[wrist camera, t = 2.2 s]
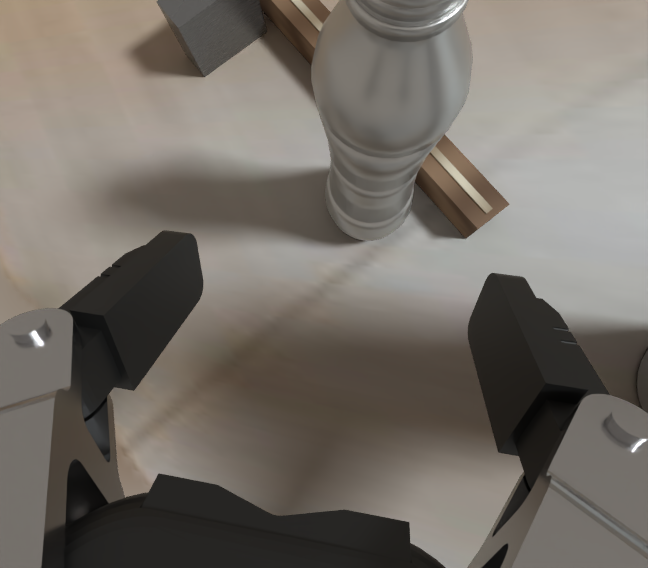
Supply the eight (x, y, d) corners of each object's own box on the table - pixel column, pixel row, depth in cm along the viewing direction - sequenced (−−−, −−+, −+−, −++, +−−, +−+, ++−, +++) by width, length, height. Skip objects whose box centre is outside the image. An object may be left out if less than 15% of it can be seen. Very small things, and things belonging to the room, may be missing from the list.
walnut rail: (494, 215, 28) (510, 203, 25) (465, 238, 28) (478, 228, 25) (285, -12, 32) (280, -43, 29) (259, 6, 32) (252, -22, 29)
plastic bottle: (341, 257, 28) (337, 69, 8) (316, 182, 29) (259, -148, 9) (417, 233, 28) (601, -15, 8) (390, 158, 29) (492, -223, 9)
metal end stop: (266, 31, 31) (252, -26, 26) (204, 76, 31) (178, 27, 26) (247, 9, 32) (230, -51, 27) (185, 54, 31) (156, 1, 26)
